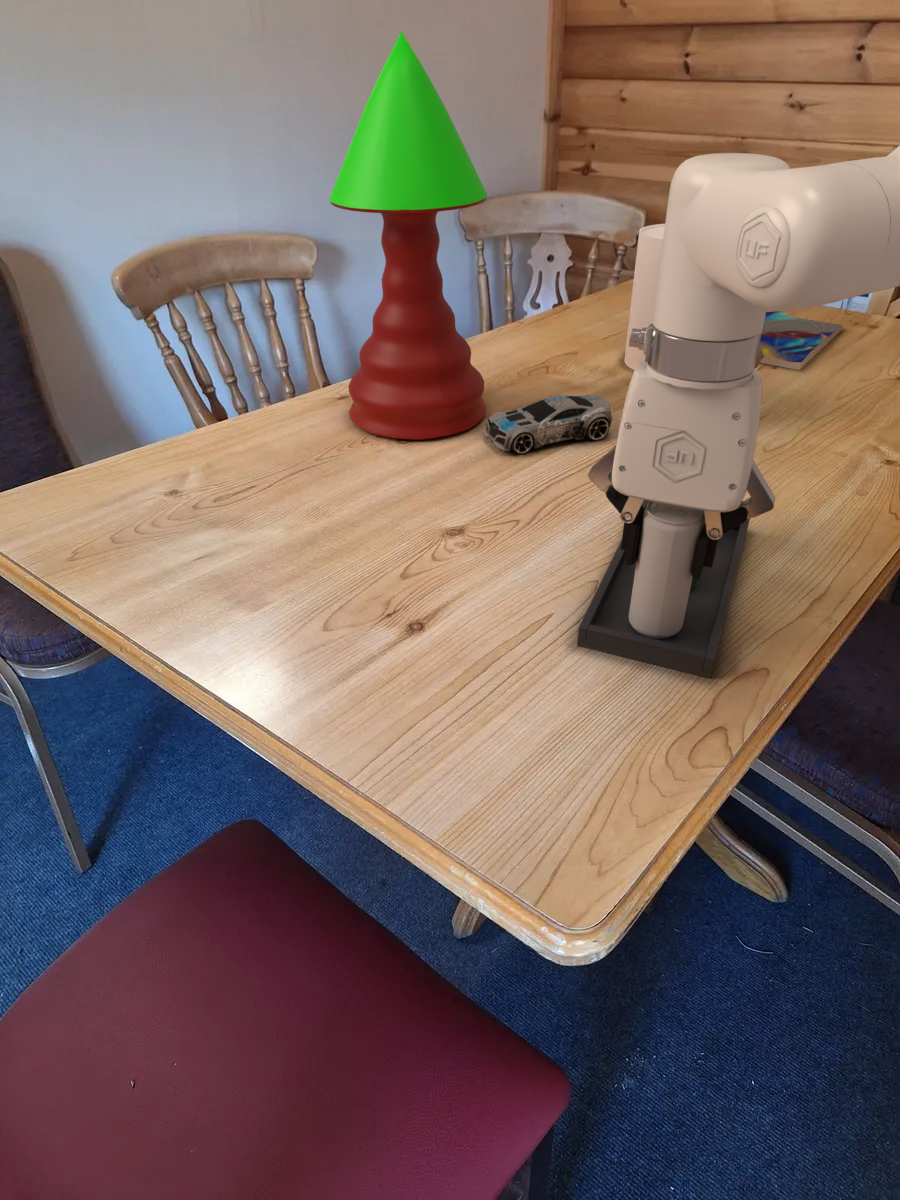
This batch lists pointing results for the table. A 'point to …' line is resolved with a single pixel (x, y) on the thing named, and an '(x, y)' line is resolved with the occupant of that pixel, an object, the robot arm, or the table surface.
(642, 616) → the beverage can
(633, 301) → the canister
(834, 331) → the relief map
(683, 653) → the tray
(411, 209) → the table lamp
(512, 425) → the toy car
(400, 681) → the table surface
